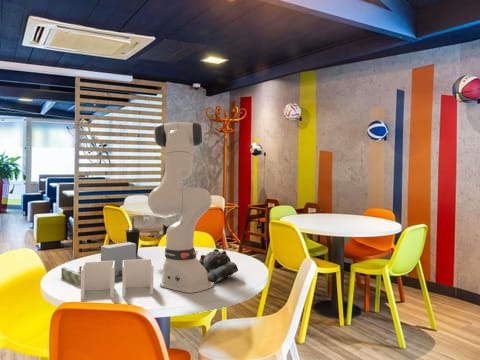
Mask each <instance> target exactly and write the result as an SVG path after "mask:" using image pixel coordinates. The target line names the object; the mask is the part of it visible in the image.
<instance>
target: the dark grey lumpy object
mask: <svg viewBox="0 0 480 360" xmlns="http://www.w3.org/2000/svg"><path fill="white" fill-rule="evenodd" d="M198 261H199V262H200V263H201V264H202V266H203V267H205V269H206V270H207V273H208V281H210V282H214V283H215V284H216V283H218V282H220V281H222V280H223V279H225V278H228V277H230V276H232V275H234V274H235V273H238V272H239V267H238V265H237V264H236V263H234V262H233V261H231V258H230V257H229V255H228V254H227V251H226V250H222V251H220V250H219V249H217V248H214V250H213V251H210V252H208V253H207V254H205V255H204V254H200V258H199V259H198Z"/></svg>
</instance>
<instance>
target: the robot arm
mask: <svg viewBox="0 0 480 360" xmlns="http://www.w3.org/2000/svg"><path fill="white" fill-rule="evenodd" d="M153 131H154V132H153V137H154V141H155V143H156V145H158V146H159V147H162V148H164V149H165V150H164V151H165V155H164V156H165V157H164V158H165V161H164V163H165V167H164V168H165V169H164V175H163V178H162V179H161V181H160V183H159V184H158V185H157V186H156V187H155V188H154V189H152V190H151V192H150V193H149V194H148V198H147V204H148V207H149V209H150V210H151V212H147V213H146V212H144V213H143V214H142V216H143V217H142V219H143V221H144V222H146V223H155V224H160V225H164V226H165V227H167V229H166V231H165V232H166V234H165V235H166V237H165V239H166V240H165V241H166V242H165V248H164V257H165V262H164V263H163V269H162V277H161V278H162V279H161V282H160V284H159V287H160V288H165V289H170V290H174V291H177V292H178V291H179V292H183V293H187V294H192V293H198V292H202V291H207V290H209V289H211V287H212V286H213V287H214V286H215V284H214V283H213V282H210V281H208V273H207V270H206V269H205V267H203V266H202V264H201V263H200V262H199V259H198V258H197V255H198V254H199V251H196V250H195V246H194V238H195V231H196V230H195V229H196V226H197V223H198V221H199V220H200V218H202V216H203V215H204V214H205V213H207V212H208V211H209V210H210V208H211V206H212V196H211V193H210V192H209V190H208V189H205V188H201V187H196V186H195V187H192V186H191V187H183V186H181V184H180V183H181V182H182V181H184V180H186V179H188V178H189V177H190V176H191V175H192V173H193V171H194V170H193V164H194V148H193V147H196V146H200V145H201V144H202V143H203V140H204V138H205V131H204V129H203V127H202V125H201V124H200V123H197V122H182V121H181V122H179V121H177V122H176V121H175V122H166V123H164V122H163V123H158V124H156V125H155V128H154V130H153ZM213 287H212V288H213ZM208 288H209V289H208Z"/></svg>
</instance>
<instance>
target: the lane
mask: <svg viewBox="0 0 480 360" xmlns="http://www.w3.org/2000/svg"><path fill="white" fill-rule="evenodd" d="M119 272H123V271H119ZM61 278H62V279H64V280H66V281H69V282H70V283H73V284H75V285H77V286H81V271H74V270H72V269H70V268H67V267H66V266H65V267H61Z"/></svg>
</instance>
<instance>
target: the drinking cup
mask: <svg viewBox="0 0 480 360" xmlns="http://www.w3.org/2000/svg"><path fill="white" fill-rule="evenodd" d="M131 218H132V219H131V221H132V222H131V225H132V227H129V228H127V229H125V230H124V231H125V237H126V242H131V243H135V244H136V257H138V254H139V243H140V242H139V241H140V236H141V235H140V233H141V229H139V228H137V227H134V224H135V223H134V222H135V221H134V217H131Z"/></svg>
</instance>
